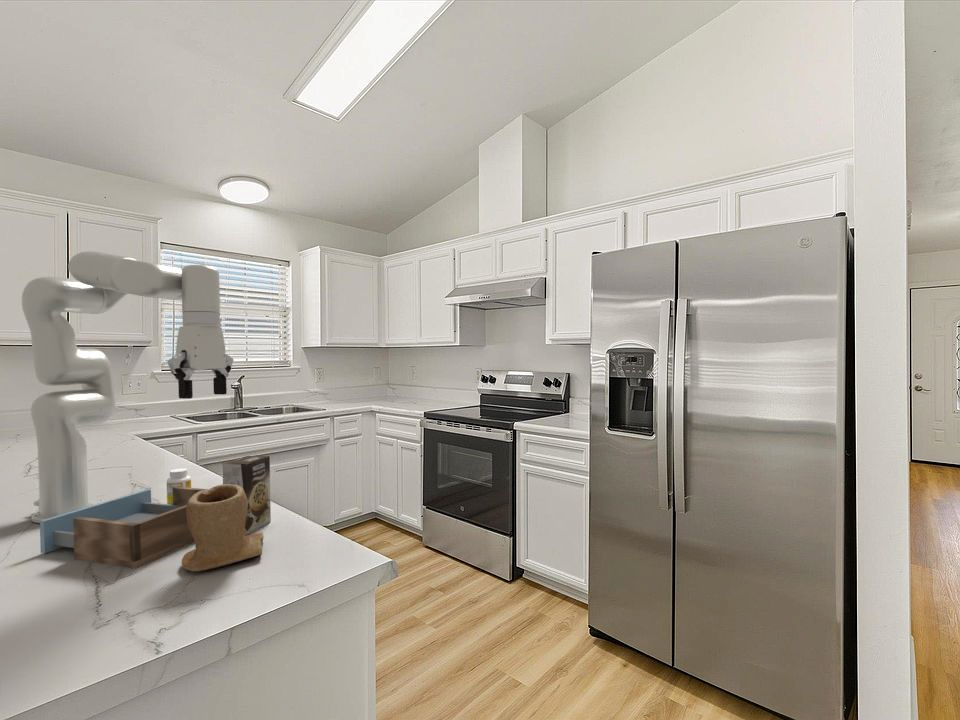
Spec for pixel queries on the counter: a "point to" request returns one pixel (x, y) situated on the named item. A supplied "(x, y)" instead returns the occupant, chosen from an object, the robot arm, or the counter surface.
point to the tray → (99, 517)
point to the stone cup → (219, 528)
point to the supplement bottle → (177, 482)
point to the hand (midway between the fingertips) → (203, 396)
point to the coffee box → (252, 487)
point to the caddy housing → (134, 535)
